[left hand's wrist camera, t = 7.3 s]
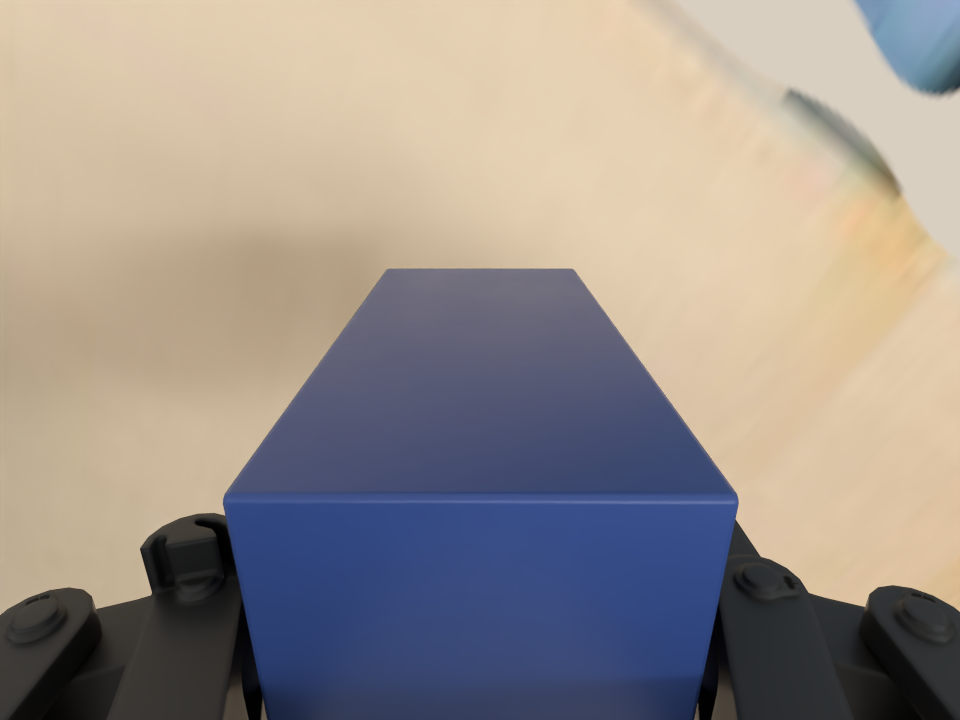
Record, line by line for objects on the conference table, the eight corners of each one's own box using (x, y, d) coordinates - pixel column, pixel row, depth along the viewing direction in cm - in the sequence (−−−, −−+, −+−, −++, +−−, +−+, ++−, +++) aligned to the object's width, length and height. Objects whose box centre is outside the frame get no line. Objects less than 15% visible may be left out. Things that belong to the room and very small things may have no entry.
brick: (399, 488, 18) (303, 908, 8) (386, 267, 16) (217, 497, 6) (560, 488, 18) (658, 909, 8) (574, 267, 16) (743, 496, 6)
